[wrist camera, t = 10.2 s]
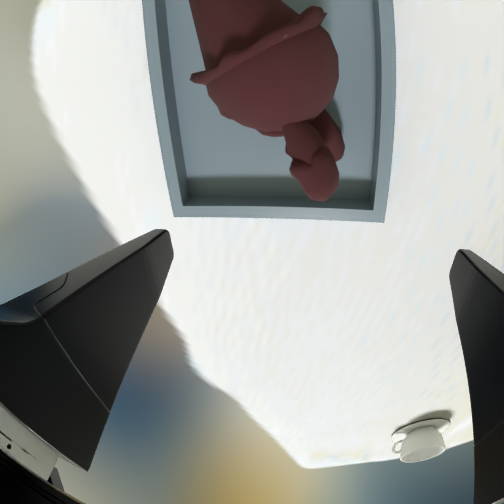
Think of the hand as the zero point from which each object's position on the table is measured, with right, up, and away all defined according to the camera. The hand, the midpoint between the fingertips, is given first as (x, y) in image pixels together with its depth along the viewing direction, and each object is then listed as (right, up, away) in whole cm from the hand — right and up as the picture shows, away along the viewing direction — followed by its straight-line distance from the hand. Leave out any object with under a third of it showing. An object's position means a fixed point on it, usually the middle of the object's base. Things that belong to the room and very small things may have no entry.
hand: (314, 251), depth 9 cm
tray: (-1, +11, +6) cm, 13 cm away
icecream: (-1, +11, +6) cm, 13 cm away
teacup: (+25, -28, +29) cm, 48 cm away
